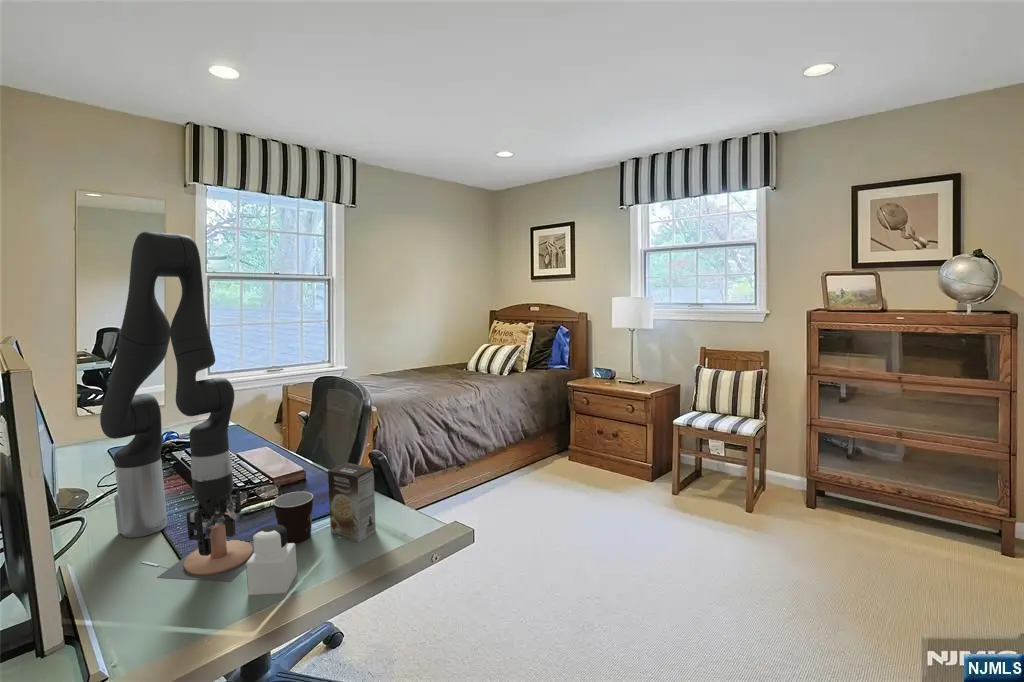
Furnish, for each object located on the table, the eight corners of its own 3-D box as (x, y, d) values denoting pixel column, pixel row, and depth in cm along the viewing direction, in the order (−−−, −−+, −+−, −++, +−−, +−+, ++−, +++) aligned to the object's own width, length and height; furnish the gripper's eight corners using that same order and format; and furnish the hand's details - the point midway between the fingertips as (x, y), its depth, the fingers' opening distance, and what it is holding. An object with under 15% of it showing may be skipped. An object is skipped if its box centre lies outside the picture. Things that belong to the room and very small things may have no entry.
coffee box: (329, 535, 126) (325, 470, 124) (348, 523, 132) (344, 461, 130) (359, 543, 122) (356, 476, 120) (377, 530, 128) (374, 467, 126)
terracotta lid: (169, 573, 109) (166, 540, 108) (211, 542, 122) (208, 512, 121) (228, 576, 108) (225, 543, 107) (264, 544, 121) (262, 514, 120)
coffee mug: (301, 550, 119) (299, 508, 118) (267, 547, 121) (264, 505, 120) (329, 526, 130) (327, 487, 129) (298, 523, 132) (295, 485, 131)
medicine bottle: (262, 576, 109) (258, 521, 108) (297, 574, 110) (294, 519, 108) (247, 597, 102) (243, 538, 100) (286, 595, 103) (282, 537, 101)
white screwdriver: (140, 564, 115) (139, 559, 115) (207, 579, 109) (207, 574, 109) (136, 566, 114) (135, 561, 114) (203, 582, 108) (203, 576, 108)
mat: (157, 580, 108) (157, 577, 108) (209, 541, 124) (209, 538, 124) (230, 584, 106) (230, 581, 106) (274, 544, 122) (274, 541, 122)
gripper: (217, 460, 120) (223, 528, 122) (170, 484, 106) (177, 562, 108) (248, 460, 119) (254, 530, 121) (205, 486, 105) (212, 563, 107)
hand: (218, 544), depth 115 cm, fingers open, 7 cm apart
